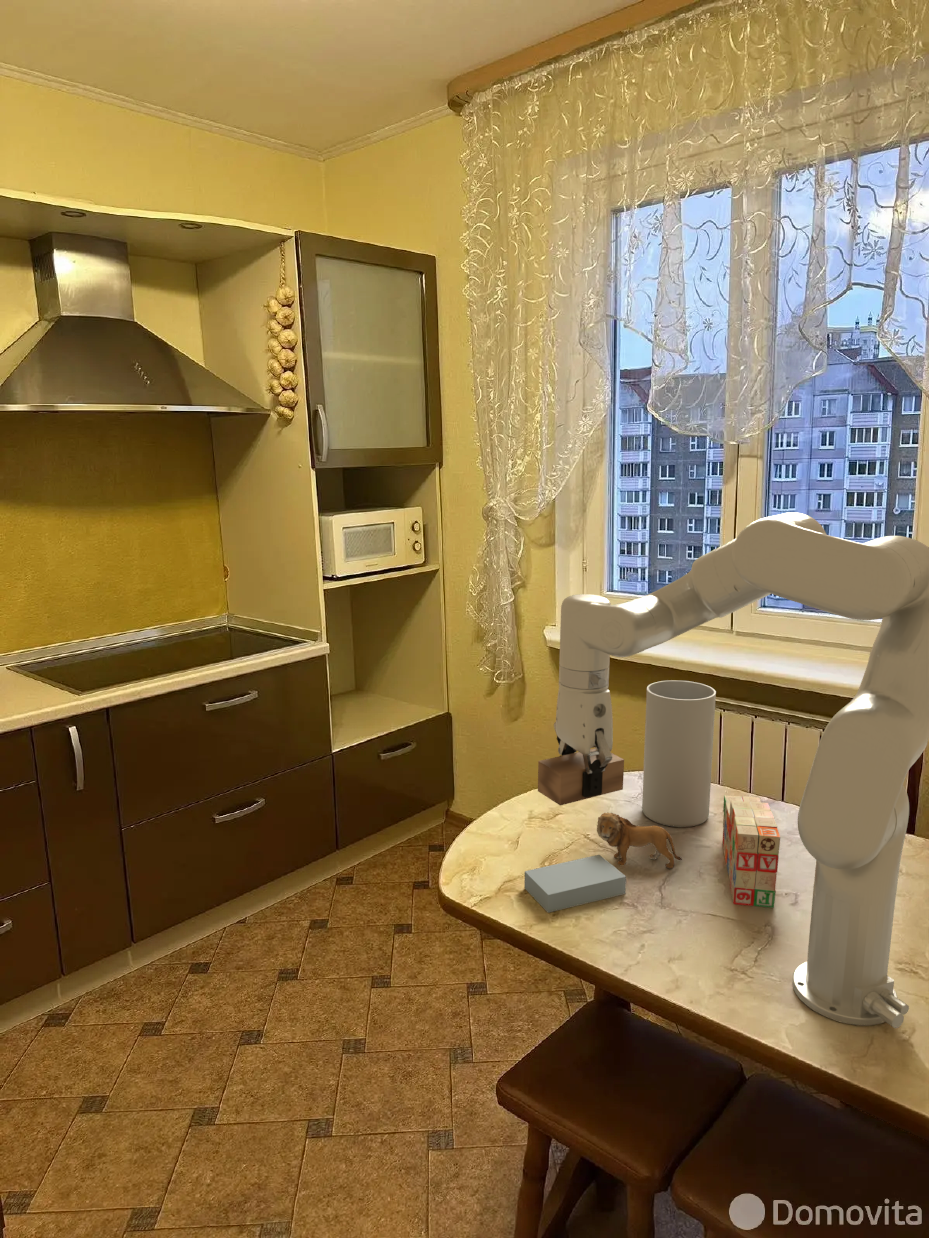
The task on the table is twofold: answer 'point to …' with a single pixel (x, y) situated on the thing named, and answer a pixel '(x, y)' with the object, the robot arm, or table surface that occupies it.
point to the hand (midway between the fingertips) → (579, 785)
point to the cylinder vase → (678, 752)
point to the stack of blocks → (750, 850)
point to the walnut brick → (575, 777)
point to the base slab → (574, 883)
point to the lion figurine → (634, 837)
